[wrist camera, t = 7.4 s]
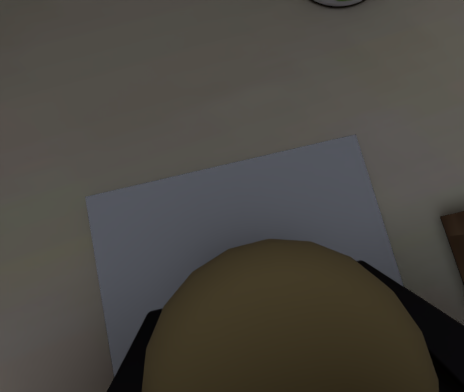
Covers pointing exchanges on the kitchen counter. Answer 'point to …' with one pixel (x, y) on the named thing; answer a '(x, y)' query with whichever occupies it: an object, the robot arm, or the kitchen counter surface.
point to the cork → (286, 327)
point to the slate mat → (228, 224)
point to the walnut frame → (456, 237)
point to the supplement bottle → (338, 2)
